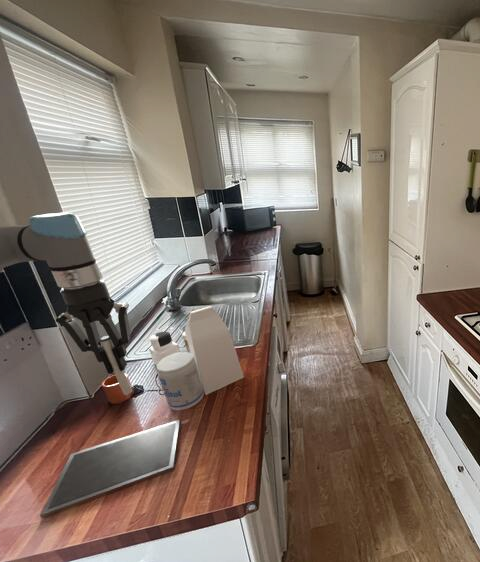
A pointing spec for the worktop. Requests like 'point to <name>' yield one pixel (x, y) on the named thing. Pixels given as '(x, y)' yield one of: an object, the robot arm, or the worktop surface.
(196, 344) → the milk
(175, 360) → the supplement tub
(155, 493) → the worktop surface
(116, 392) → the pen cup
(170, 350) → the medicine bottle
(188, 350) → the sprinkles bottle
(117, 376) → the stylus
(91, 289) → the robot arm
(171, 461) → the tablet
